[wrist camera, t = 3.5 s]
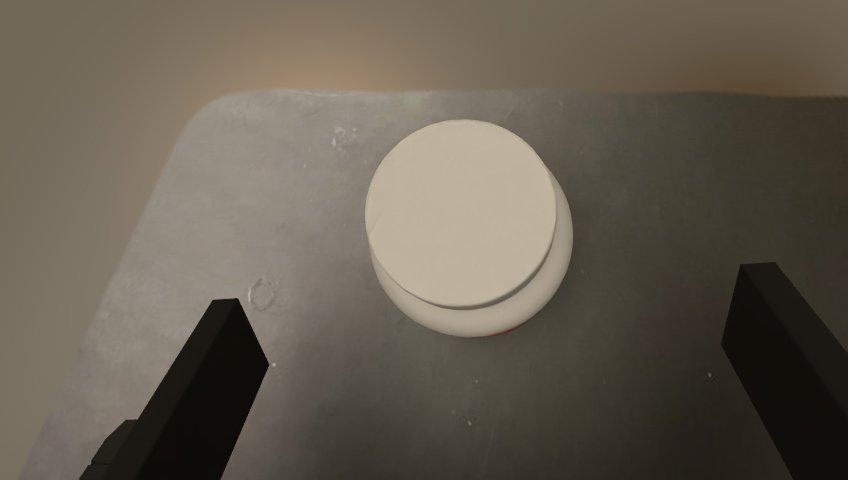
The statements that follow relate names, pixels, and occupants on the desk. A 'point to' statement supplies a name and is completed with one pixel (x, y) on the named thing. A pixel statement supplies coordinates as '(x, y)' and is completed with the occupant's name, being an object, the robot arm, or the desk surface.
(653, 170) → the desk surface
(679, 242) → the desk surface
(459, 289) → the pill bottle
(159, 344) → the desk surface
